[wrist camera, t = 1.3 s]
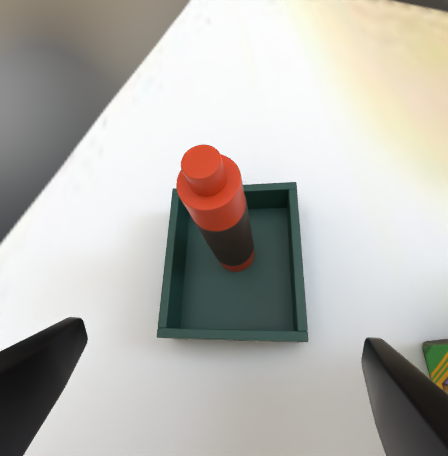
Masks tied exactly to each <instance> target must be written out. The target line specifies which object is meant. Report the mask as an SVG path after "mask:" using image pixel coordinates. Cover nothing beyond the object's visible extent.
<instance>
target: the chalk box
mask: <svg viewBox="0 0 448 456" xmlns="http://www.w3.org/2000/svg"><path fill="white" fill-rule="evenodd" d="M423 351H424V354H425V358H426V362H427V365H428V370H429V373H430V376H431V379H432V381H433V382H434V383H435V384H437V385H438V386H439V387H440V388H441V389H443V390H444V391H445V392H446V393H447V394H448V339H442V340H433V341H426V342H424V343H423Z"/></svg>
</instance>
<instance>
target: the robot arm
mask: <svg viewBox="0 0 448 456" xmlns="http://www.w3.org/2000/svg"><path fill="white" fill-rule="evenodd" d="M87 340H88V337H87V333H86V329H85V325H84V322H83V320H82V319H81V318H77V317H69V318H66V319H64V320H62V321H60V322H58V323H56V324H54V325H52V326H50V327H48V328H46V329H44V330H42V331H40V332H38V333H36V334H34V335H32V336H30V337H28V338H26V339H24V340H22V341H20V342H18V343H16V344H14V345H12V346H10V347H8V348H6V349H4V350H2V351H0V456H23V455H24V453H25V452H26V450H27V448H28V447H29V445H30V443H31V442H32V440H33V439H34V437H35V435H36V434H37V432H38V431H39V429H40V427H41V426H42V424H43V422H44V421H45V419H46V418H47V416H48V414H49V413H50V411H51V409H52V408H53V406H54V405H55V403H56V401H57V400H58V398H59V396H60V395H61V393H62V391H63V390H64V388H65V386H66V384H67V382H68V380H69V378H70V376H71V374H72V372H73V370H74V368H75V366H76V364H77V362H78V360H79V358H80V356H81V354H82V352H83V350H84V348H85V346H86V344H87ZM362 369H363V373H364V378H365V382H366V386H367V391H368V395H369V399H370V404H371V408H372V412H373V416H374V420H375V424H376V427H377V430H378V433H379V436H380V439H381V442H382V445H383V448H384V451H385V454H386V456H448V394H447V393H446V392H445V391H444V390H443V389H441V388H440V387H439V386H438V385H437V384H435V383H434V382H433V381H432V380H431V379H430V378H428V377H427V376H426V375H425V374H424V373H422V372H421V371H420V370H419V369H418V368H416V367H415V366H414V365H413V364H412V363H410V362H409V361H408V360H407V359H406V358H404V357H403V356H402V355H401V354H400V353H398V352H397V351H396V350H395V349H394V348H392V347H391V346H390V345H389V344H388V343H387V342H385V341H384V340H383V339H381V338H370V337H368V338H366V339H365V342H364V348H363V354H362Z"/></svg>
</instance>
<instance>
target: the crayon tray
mask: <svg viewBox="0 0 448 456" xmlns="http://www.w3.org/2000/svg"><path fill="white" fill-rule="evenodd" d="M243 190H244V195H245V197H246V202H247V207H248V213H249V219H250V225H251V231H252V236H253V242H254V252H255V255H254V260H253V262H252V263H251V265H250V266H249V267H248V268H246V269H245V270H242V271H238V272H233V271H229V270H227V269H226V268H224V267H223V266H222V265H221V263H220V262H219V260H218V259H217V258H216V256H215V255H214V253H213V252H212V250H211V248H210V247H209V245H208V244H207V242H206V241H205V239H204V237H203V236H202V234H201V233H200V231H199V229H198V228H197V226H196V225H195V223H194V222H193V220H192V218H191V215H190V213H189V212H188V210H187V208H186V207H185V205H184V204H183V202H182V200H181V199H180V197H179V195H178V192H177V189H173V191H172V201H171V211H170V220H169V229H168V238H167V248H166V257H165V266H164V275H163V285H162V294H161V303H160V312H159V322H158V331H157V337H158V338H173V339H207V340H242V341H277V342H308V332H307V316H306V303H305V290H304V277H303V264H302V251H301V238H300V225H299V212H298V198H297V185H296V182H289V183H271V184H252V185H243Z"/></svg>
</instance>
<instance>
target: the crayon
mask: <svg viewBox="0 0 448 456" xmlns="http://www.w3.org/2000/svg"><path fill="white" fill-rule="evenodd" d="M181 169H182V170H181V171H180V173H179V175H178V178H177V192H178V195H179V197H180V199H181V200H182V202H183V204H184V205H185V207H186V208H187V210H188V212H189V213H190V215H191V218H192V220H193V222H194V223H195V225H196V226H197V228H198V229H199V231H200V233H201V234H202V236H203V237H204V239H205V241H206V242H207V244H208V245H209V247H210V248H211V250H212V252H213V253H214V255H215V256H216V258H217V259H218V260H219V262H220V263H221V265H222V266H223V267H224V268H226V269H227V270H229V271H233V272H238V271H242V270H245V269H246V268H248V267H249V266H250V265H251V263H252V262H253V260H254V255H255V252H254V242H253V236H252V231H251V225H250V219H249V213H248V207H247V202H246V197H245V195H244V190H243V185H242V179H241V173H240V170H239V168H238V166H237V165H236V164H235V163H234V162H233V161H232V160H231V159H230V158H228V157H226V156H224V155H221V154H220V153H219V151H218V150H217V149H215V148H214V147H212V146H209V145H198V146H195V147H193V148H191V149H189V150H188V151H187V152H186V153H185V154H184V156H183V158H182V161H181Z"/></svg>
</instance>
